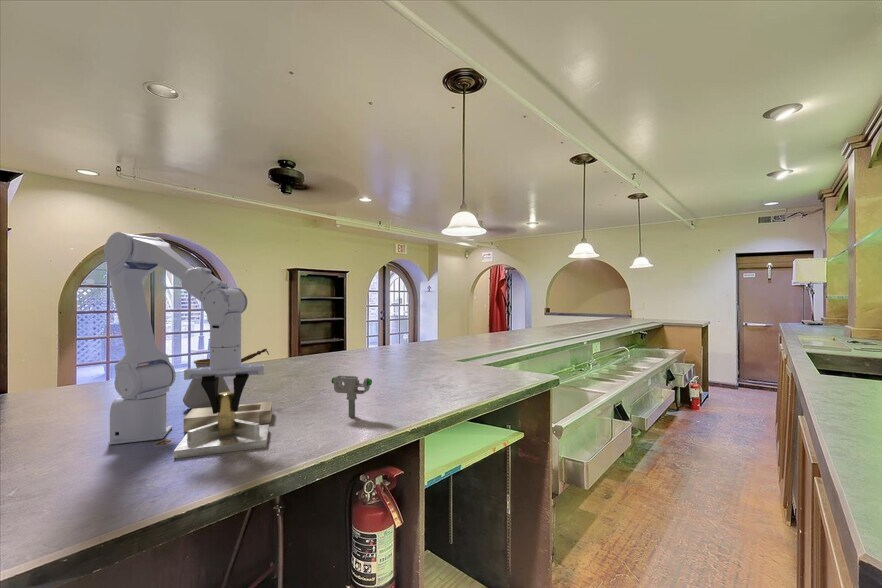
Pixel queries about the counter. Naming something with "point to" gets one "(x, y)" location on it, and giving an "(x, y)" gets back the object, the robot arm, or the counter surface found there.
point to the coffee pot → (196, 392)
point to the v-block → (222, 439)
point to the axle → (225, 413)
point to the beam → (245, 412)
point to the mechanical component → (350, 389)
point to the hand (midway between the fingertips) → (225, 411)
